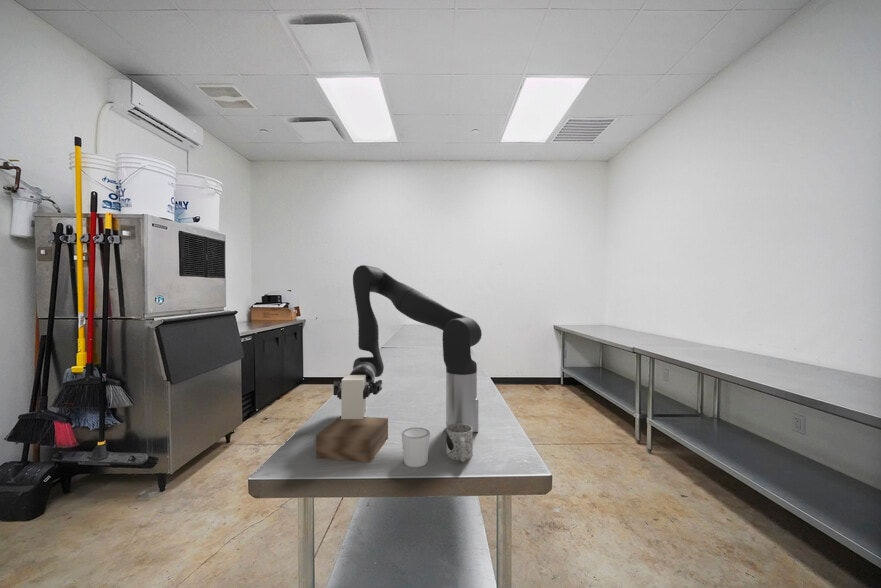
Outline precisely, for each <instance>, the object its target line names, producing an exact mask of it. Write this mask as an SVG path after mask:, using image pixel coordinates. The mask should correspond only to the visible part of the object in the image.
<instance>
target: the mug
mask: <svg viewBox="0 0 881 588" xmlns="http://www.w3.org/2000/svg"><path fill="white" fill-rule="evenodd" d="M445 427H446V426H445ZM445 429H446V431H445V433H446V435H445V437H446V439H445V441H446V442H445V443H446V444H445V445H446V446H445V448H446V449H445V451H446V453H445V455H446V457H447V458H448V459H449V460H453V461H456V462H457V461H459V462H462V463H464V462H465V461H468V460H470V459H471V458H472V457H473V456H474V455H473V454H474V453H473V449H474V448H473V446H474V445H473V444H474V443H473V442H474V441H473V440H474V439H473V434H474V432H473V428H472V427H471V426H470V425H467V424H462V423H455V424H450V425H448V426H447V427H446V428H445Z"/></svg>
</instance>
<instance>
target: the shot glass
mask: <svg viewBox="0 0 881 588" xmlns="http://www.w3.org/2000/svg"><path fill="white" fill-rule="evenodd" d="M430 435H431V432H430V430H429V429H427V428H423V427H410V428H406V429H404V430H402V432H401V444H402V452H403V463H404V465H405V466H407V467H409V468H419V467H423V466H425V465H426V464H427V463H428V461H429V460H428V459H429V445H430V438H431V437H430Z"/></svg>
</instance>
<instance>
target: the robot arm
mask: <svg viewBox="0 0 881 588" xmlns="http://www.w3.org/2000/svg"><path fill="white" fill-rule="evenodd" d="M352 286H353V295H354V299H355V307H356V315H357V320H358V321H357V322H358V325H357V326H358V330H357V331H358V333H357V334H358V337H357V338H358V348H359V350H360V351H366V352H369V353H371V355H372V356H365V357H364V356H363V357H362V356H360V357H357V358H356V359H355V360H354V361H353V365H352V371H350V373H349V375H366V385H365V388H364V390H363V399H367V398H369V397H370V396H371V394H372V395H378V394H379V393H380V392H381V391H382V390H383V380H382V379H379V380H377V381H375V379H376V378H379V377H381V376H382V374H383V372H384V367H385V366H384V362H383V359H382V355H381V353H380V345H379V339H380V338H379V324H378V323H379V322H378V320H377V318H376V315H375V313H374V311H373V308H372V303H371V297H370V296H371V293H375V294H379V295H381V296H383V297H385V298H387V299H388V300H390V302H391V303H392V304H393V306H394V308H395V309H396V310H398V311H397V312H399V313H401V314H403V315H404V316H406V317H408V318H409V319H411V320H413V321H415V322H418V323H420V324H424V325H427V326H431V327H434V328H437V329H440V330H442V353H443V354H442V356H443V362H444V364H445V374H446V375H445V405H446V406H445V427H447V426H448V425H450V424H455V423H462V424H467V425H470V426H471V427H472V428H473V433H478V432H479V398H478V397H477V396H478V392H477V391H478V388H477V387H478V386H477V385H478V383H477V381H478V377H477V376H478V374H477V373H478V372H477V371H478V366H477V362H476V361H475V360H473V359H472V355H471V354H472V352H471V347H474V346H475V345H477V344H479V342H480V341H481V339H482V329H481V326H480V325H479V323H478V322H477V321H476V320H475V319H473V318H471V317H469V316H466V315H465V314H464V315H463V314H461V313H459V312H457V311H454V310H452V309H450V308H448V307H446V306H444V305H443V304H441V303H440V302H438V301H436V300H434V299H433V298H432V297H430V296H428V295H426V294H424V293H423V292H421V291H419V290H417V289H415V288H413V287H412V286H409V285H407V284H405V283H403V282H402V281H401V282H400V281H398V280H397V279H395V278H394V277H392V276H391V275H390V274H388V273H387V272H386V271H385V270H383V269H381V268H379V267H376V266H370V265H365V264H363V265H362V264H361V265H359V266H357V267H356V268H355V270H354V271H353V275H352ZM332 391H333V392H332V393H333V396H336V397H337V398H338V399H339V400H341V391H342V382H341V381H339V380H334V381H333V390H332Z"/></svg>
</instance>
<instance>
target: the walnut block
mask: <svg viewBox="0 0 881 588" xmlns="http://www.w3.org/2000/svg"><path fill="white" fill-rule="evenodd" d="M388 439H389V418H388V417H375V416H374V417H372V416H364V417H363V419H341V415H340V416H338V417H336V419H335V420H332V422H331V423H329V424H328V425H327V426H326V427H325V428H323V429H322V430H320V431H319V432H318V433H317V434H316V435H315V447H316V448H315V453H316V454H315V459H320V460H321V459H322V460H333V459H334V460H335V461H347V462H348V461H349V462H359V463H360V462H363V463H371V462H372V461H373V460H374V458H375V456H377V455H378V453H379V451H380V450H381V449H382V447H383V446H384V445H385V443H386V442H387V441H388ZM386 440H387V441H386Z"/></svg>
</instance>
